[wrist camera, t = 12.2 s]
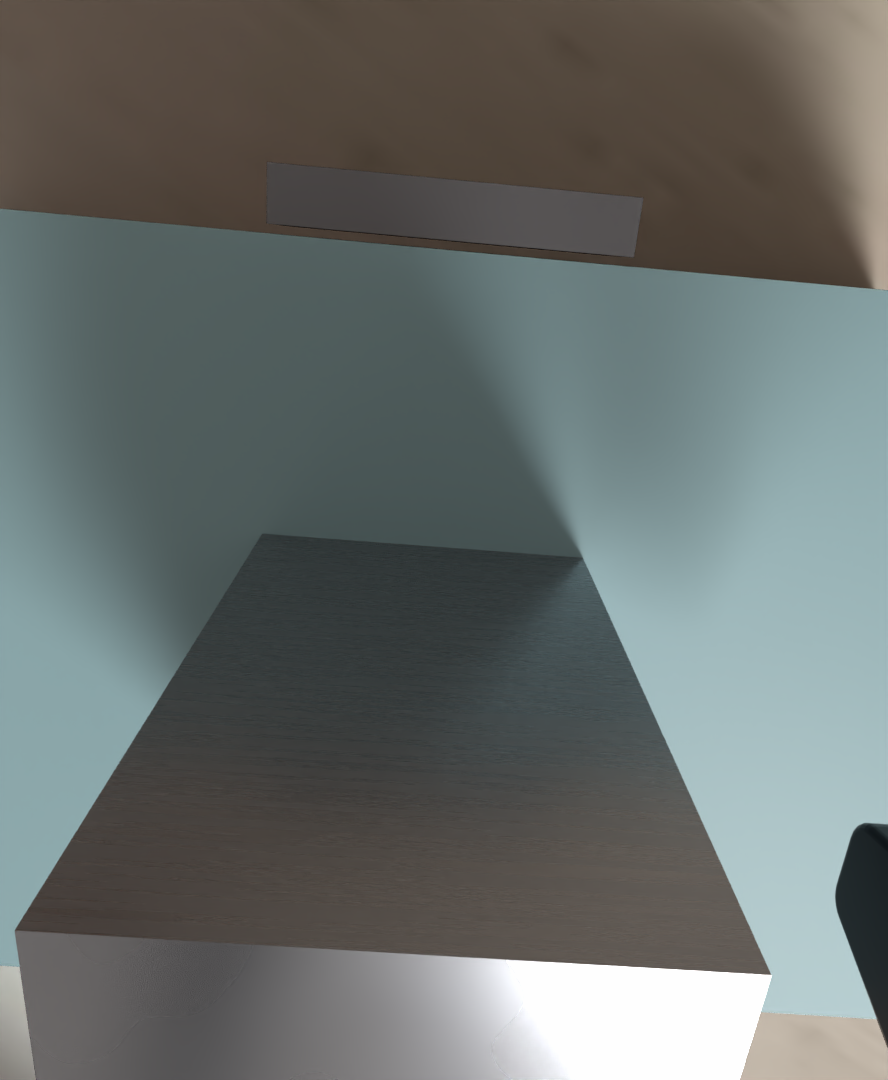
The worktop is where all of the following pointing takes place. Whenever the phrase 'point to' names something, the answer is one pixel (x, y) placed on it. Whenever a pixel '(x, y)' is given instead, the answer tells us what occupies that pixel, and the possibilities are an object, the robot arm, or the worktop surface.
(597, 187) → the worktop surface
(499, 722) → the block
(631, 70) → the worktop surface
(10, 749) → the lid
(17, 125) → the worktop surface
